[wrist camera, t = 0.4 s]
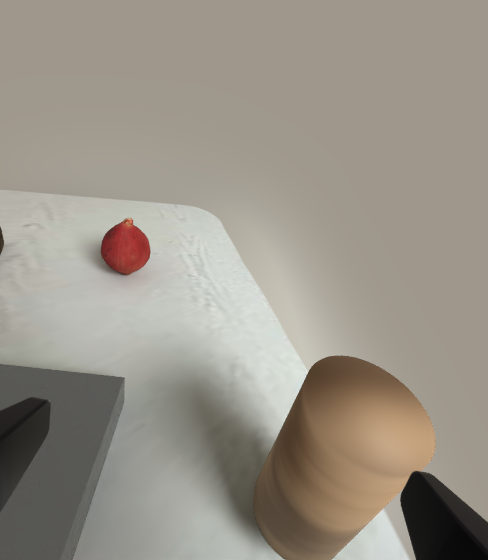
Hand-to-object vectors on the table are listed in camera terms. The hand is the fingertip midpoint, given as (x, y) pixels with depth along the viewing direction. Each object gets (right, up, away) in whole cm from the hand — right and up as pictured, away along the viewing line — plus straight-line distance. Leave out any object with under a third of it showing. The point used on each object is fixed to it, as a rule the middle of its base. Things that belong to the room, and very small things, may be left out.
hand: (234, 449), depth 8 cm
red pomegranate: (-16, +5, +34) cm, 37 cm away
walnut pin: (+3, -12, +14) cm, 19 cm away
